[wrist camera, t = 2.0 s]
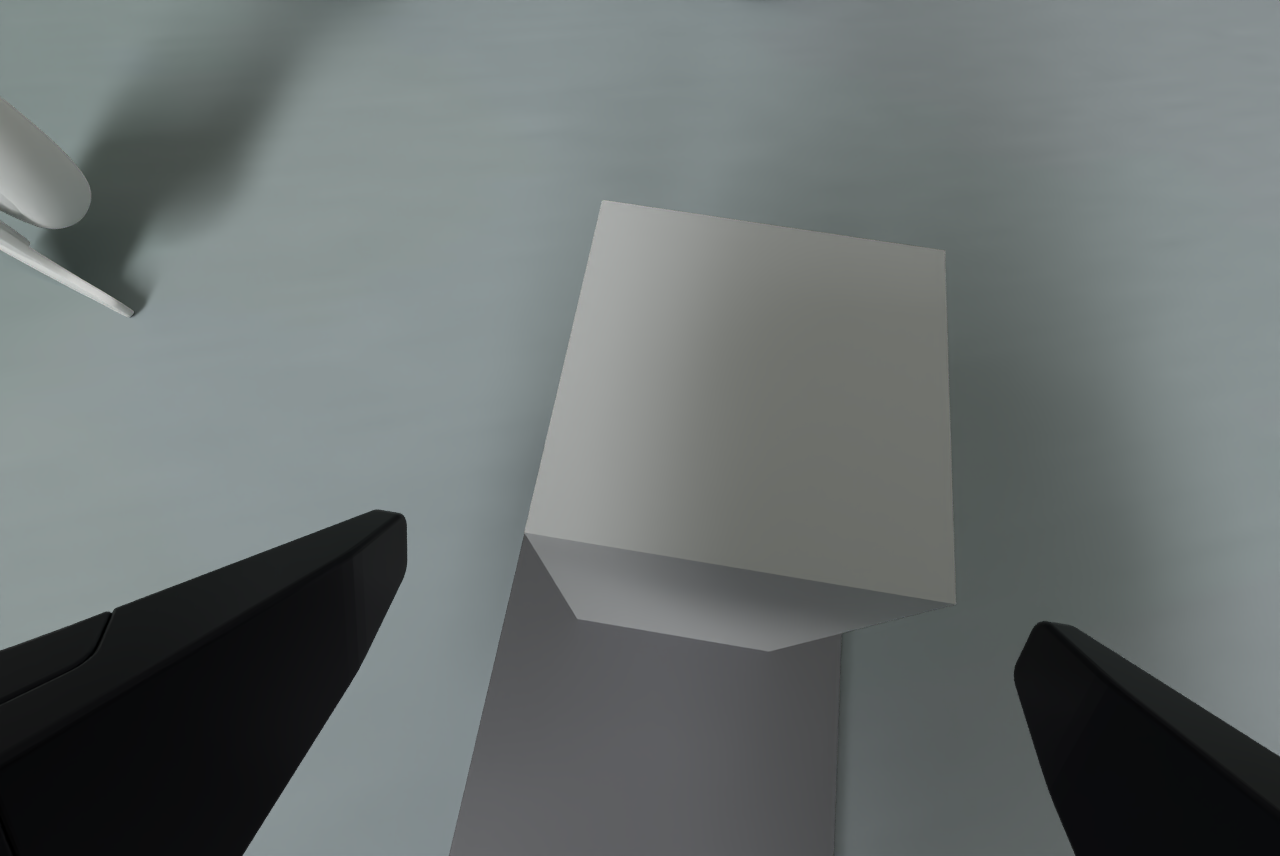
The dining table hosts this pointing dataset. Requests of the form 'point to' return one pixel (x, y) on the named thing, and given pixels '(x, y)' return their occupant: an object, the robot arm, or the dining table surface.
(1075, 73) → the dining table surface
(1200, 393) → the dining table surface
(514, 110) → the dining table surface
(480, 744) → the power strip
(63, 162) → the headset
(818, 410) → the plain gray block
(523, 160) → the dining table surface
